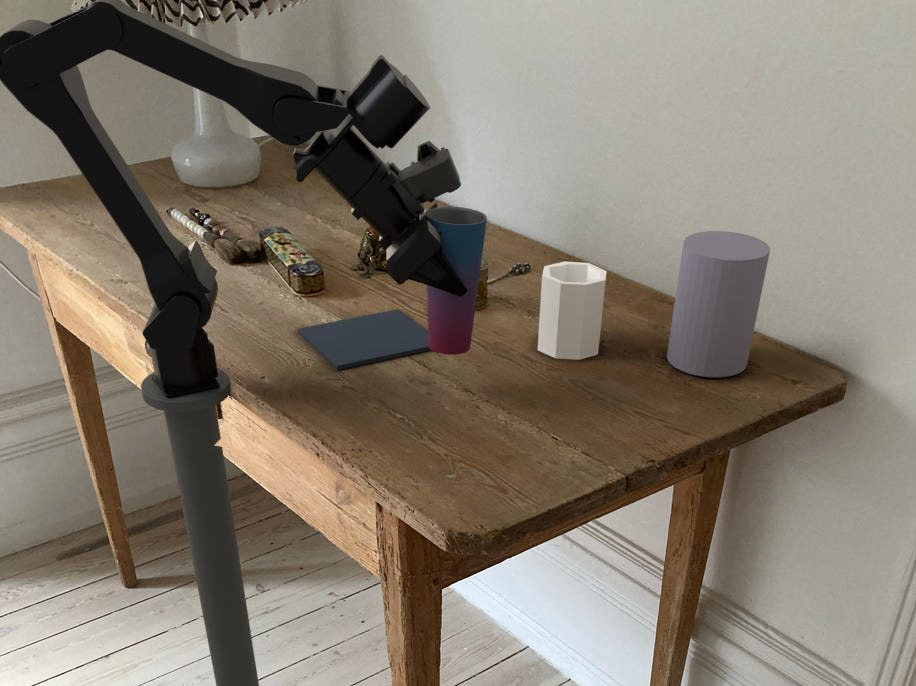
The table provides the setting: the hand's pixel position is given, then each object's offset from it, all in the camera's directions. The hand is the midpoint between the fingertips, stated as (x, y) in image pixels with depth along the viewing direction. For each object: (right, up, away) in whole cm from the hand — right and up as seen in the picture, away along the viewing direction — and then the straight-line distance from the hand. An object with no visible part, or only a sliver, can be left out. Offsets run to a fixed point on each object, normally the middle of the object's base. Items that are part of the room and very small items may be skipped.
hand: (462, 283), depth 118 cm
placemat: (-13, -1, +19) cm, 23 cm away
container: (+31, -5, +16) cm, 36 cm away
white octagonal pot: (+13, -1, +20) cm, 24 cm away
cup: (-2, -6, +5) cm, 8 cm away
